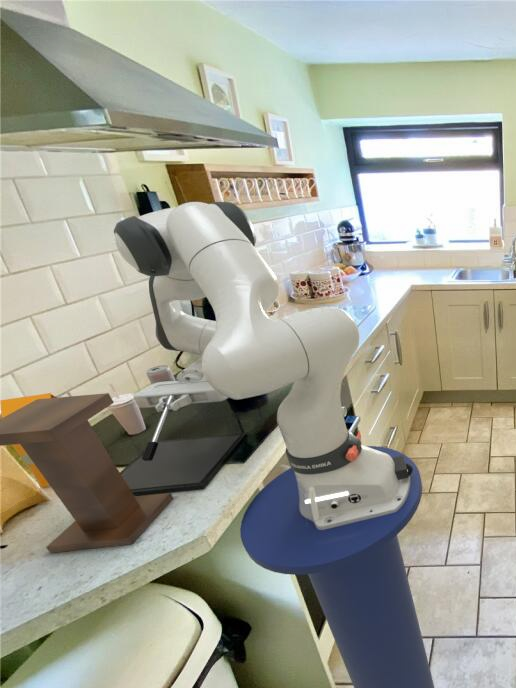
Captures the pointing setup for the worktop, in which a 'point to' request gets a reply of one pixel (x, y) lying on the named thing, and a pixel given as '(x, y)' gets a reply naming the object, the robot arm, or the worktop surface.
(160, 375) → the energy drink
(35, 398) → the orange juice
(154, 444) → the stylus
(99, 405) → the brown wooden pedestal
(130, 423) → the smoothie
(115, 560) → the worktop surface
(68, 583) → the worktop surface
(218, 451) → the tablet
